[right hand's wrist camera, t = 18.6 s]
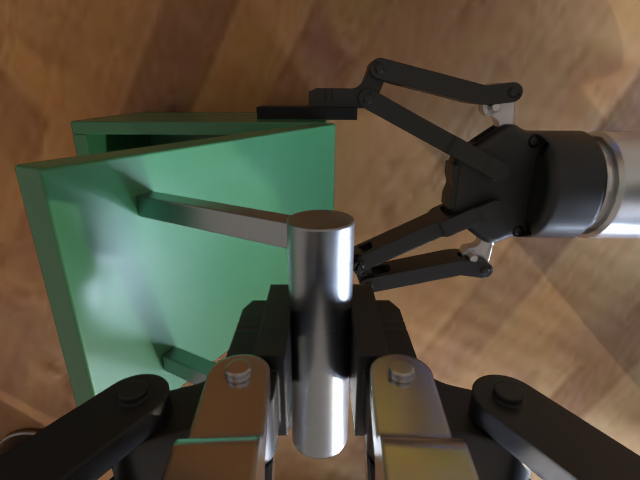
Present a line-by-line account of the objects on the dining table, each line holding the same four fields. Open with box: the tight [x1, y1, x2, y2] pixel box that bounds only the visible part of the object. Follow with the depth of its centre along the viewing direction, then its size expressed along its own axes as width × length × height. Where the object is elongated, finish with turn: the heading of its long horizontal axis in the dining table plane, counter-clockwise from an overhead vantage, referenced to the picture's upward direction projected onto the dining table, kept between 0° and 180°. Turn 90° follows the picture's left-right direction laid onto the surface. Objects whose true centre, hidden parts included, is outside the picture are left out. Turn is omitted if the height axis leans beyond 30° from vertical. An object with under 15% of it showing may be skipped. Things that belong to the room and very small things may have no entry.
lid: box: [15, 123, 355, 459], centre depth 17 cm, size 16×9×8 cm
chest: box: [71, 112, 326, 156], centre depth 31 cm, size 15×9×10 cm, turn 90°
